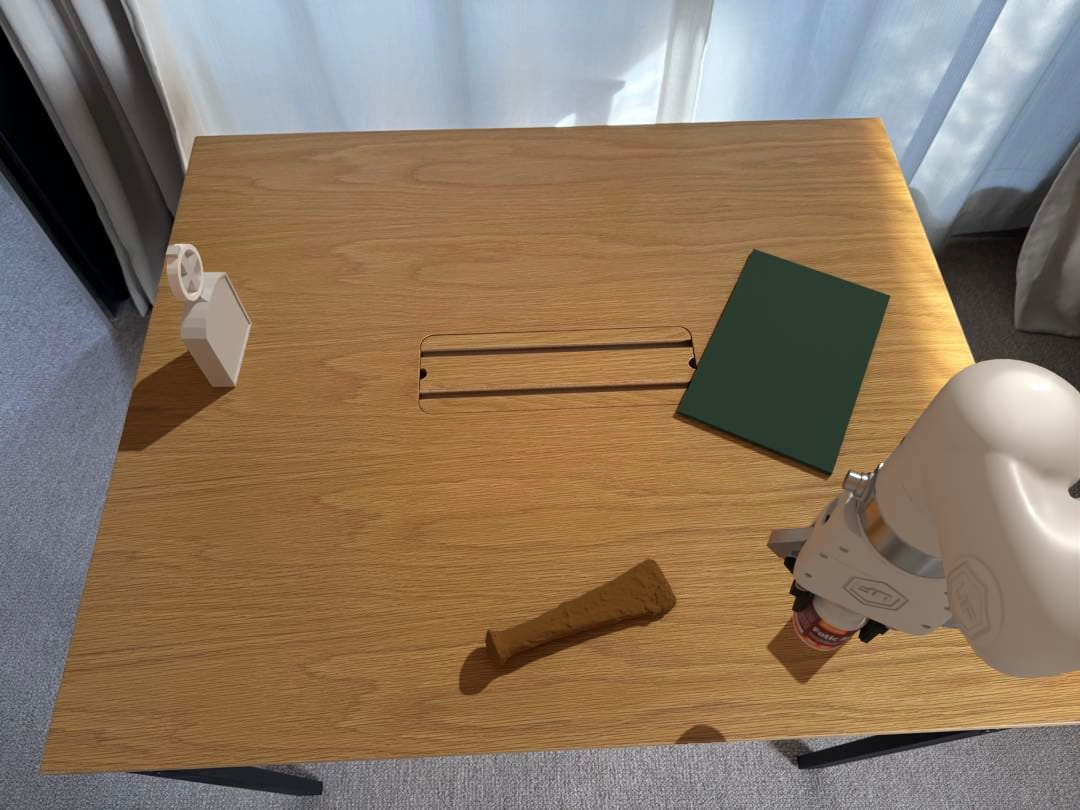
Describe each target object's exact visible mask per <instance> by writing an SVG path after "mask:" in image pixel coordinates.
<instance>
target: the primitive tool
mask: <svg viewBox="0 0 1080 810" xmlns="http://www.w3.org/2000/svg"><path fill="white" fill-rule="evenodd" d="M676 604H677V597H676V595H675V594H674V591H673V589H672V587H671V584H670V583H669V581H668V580H667V578H666V576H665V574H664V573H663V571H662V569H661V567H660V566H659V563H657V562H656V560H655V559H653V558H651V559H650V558H648V559H646V560H644V561H642V562H639V563H637V565H635V566H633V567H631V568H630V569H628V570H627V571H624V572H623V573H622V574H620V575H619V576H617V577H615V578H614V579H611V580H609V581H608V582H607V583H604V584H602V585H600V586H598V587H595V588H593V589H591V590H588V591H587V592H585V593H583V594H581V595H580V596H578V597H576V598H572V599H571V600H564V601H563V602H561V603H560V604H559V605H558V606H557V607H555V608H554V609H553V608H552V609H551V610H548V611H545V612H544V613H542V614H540V615H539V616H537V617H535V618H532V619H529V620H527V621H525V622H522V623H520V624H516V625H515V626H512V627H508V628H505V629H503V630H491V629H488V630H487V631H486V633H485V639H484V643H485V648H484V649H485V652H486V653H487V655H488V657H489V659H490V662H491V663H492V664H493V665H495V666H497V667H499V668H503V666H504V665H505V663H506V662H507V661H508V659H509V658H510V657H511V656H514V655H517V654H519V653H521V652H523V651H527V650H530V649H534V647H537V646H540V645H543V644H546V643H549V642H551V641H555V640H558V639H561V638H565V637H569V636H571V635H574V634H578V633H580V632H584V631H588V630H591V629H596V628H599V627H607V626H609V625H616V624H617V623H618V622H623V621H626V620H629V619H634V618H639V617H642V616H644V617H645V616H648V615H650V616H651V617H656V616H657V615H658V614H661V613H667V612H669V611H670V609H672V608H674V607H675V606H676Z"/></svg>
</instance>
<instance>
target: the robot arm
mask: <svg viewBox="0 0 1080 810" xmlns="http://www.w3.org/2000/svg"><path fill="white" fill-rule="evenodd" d="M1078 481H1080V392H1079V390H1078V389H1076V387H1074V385H1072V384H1071V383H1069V381H1067V380H1065V378H1063V377H1061V376H1059V374H1056V373H1055V372H1053V371H1051V370H1049V369H1048V368H1045V367H1043V366H1040V365H1037V364H1035V363H1032V362H1029V361H1024V360H1018V359H1013V358H1012V359H1011V358H995V359H988V360H982V361H978V362H976V363H974V364H971V365H968V366H966V367H964V368H963V369H961V370H960V371H958V372H956V373H954V375H952V376H951V378H949V379H948V381H947V382H946V383H945V384H944V385H943V386H942V388H940V389H939V391H938V392H937V394H936V395H935V396H934V397H933V398H932V400H931V401H930V402H929V404H928V405H927V407H926V408H925V409H924V410H923V412H922V413H921V414H920V415H919V417H918V418H917V420H916V421H915V422H914V423H913V425H912V426H911V427H910V428H909V430H908V431H907V432H906V434H905V435H904V436H903V438H902V439H901V440H900V441H899V443H898V444H897V445H896V447H895V448H894V449H893V451H892V452H891V453H890V455H889V456H888V457H887V458H886V460H885V461H884V462H879V463H878V464H877V466H876V467H875V469H873V471H867V473H866V472H863V471H861V472H858V471H855V470H853V469H848V470H847V472H846V474H845V476H844V479H843V480H842V484H841V489H842V491H841V492H839V493H838V494H836V496H835V497H834V498H833V499H831V500H830V501H829V502H828V503H827V504H826V505H825V506H824V507H823V508H822V509H821V510H820V512H818V514H816V516H815V517H814V518H813V519H812V521H811V523H810V524H809V525H808V526H806V527H805V526H804V527H793V528H784V529H773V530H771V532H770V535H769V537H768V541H767V543H766V547H767V548H768V549H769V550H770V551H772V553H774V554H775V555H776V556H777V557H778V558H779V559H782V560H783V566H784V567H785V568H786V569H787V570H788V571H789V572H790V573H791V575H792V577H793V580H792V583H791V586H790V589H789V591H788V592H789V593H788V594H789V595H790V596H793V597H795V598H794V601H793V604H792V608H791V611H792V612H794V611H795V612H797V613H798V612H802V611H803V610H804V609H805V607H806V606H807V605H808V604H809V603H810V602H811V601H812V600H813V598H814V596H815V594H816V595H818V596H821V597H823V598H825V599H827V600H829V601H832V602H834V603H836V604H838V605H841V606H843V607H845V608H847V609H850V610H852V611H854V612H856V613H859V614H861V615H863V616H866V617H868V618H870V620H869V621H868V623H867V624H866V625H865V626H864V627H862V628H861V629H860V630H859V631H858V637H857V638H858V639H859V641H860V642H862V643H865V644H868V643H870V642H871V641H872V640H874V639H875V638H876V637H878V635H881V636H883V635H885V634H886V633H887V632H888V631H890V630H891V631H894V632H895V631H896V632H902V633H905V634H907V635H912V636H917V637H920V636H921V637H922V636H927V635H930V634H932V633H933V632H935V631H937V630H938V629H940V628H948V629H955V630H959V631H960V633H961V635H963V637H964V639H965V640H966V642H967V644H968V645H969V647H970V648H971V650H972V651H973V653H975V655H976V656H977V657H978V658H979V659H980V660H981V661H983V662H984V664H985V665H987V666H989V667H990V668H992V669H993V670H995V671H997V672H999V673H1001V674H1003V675H1006V676H1010V677H1013V678H1019V679H1038V678H1048V677H1054V676H1060V675H1063V674H1068V673H1074V672H1078V671H1080V497H1073V496H1071V494H1070V492H1069V489H1071V488H1072V487H1074V486H1075V484H1076V483H1078Z"/></svg>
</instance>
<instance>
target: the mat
mask: <svg viewBox="0 0 1080 810" xmlns="http://www.w3.org/2000/svg"><path fill="white" fill-rule="evenodd" d="M890 299H891V295H890V294H886V293H884V292H882V291H878V290H875V289H872V288H869V287H867V286H865V285H861V284H858V283H855V282H853V281H849V280H846V279H844V278H841V277H837V276H835V275H833V274H829V273H826V272H823V271H820V270H817V269H814V268H811V267H809V266H805V265H803V264H799V263H796V262H793V261H791V260H788V259H786V258H782V257H780V256H776V255H773V254H770V253H768V252H764V251H762V250H759V249H756V248H753V249H752V251H751V254H750V255H749V257H748V260H747V262H746V264H745V266H744V268H743V271H742V273H741V274H740V277H739V279H738V281H737V283H736V285H735V288H734V289H733V292H732V293H731V296H730V298H729V301H728V302H727V304H726V306H725V308H724V311H723V312H722V315H721V317H720V319H719V322H718V323H717V326H716V328H715V330H714V332H713V334H712V336H711V338H710V341H709V343H708V345H707V347H706V349H705V351H704V354H703V355H702V358H701V360H700V361H699V364H698V366H697V369H696V370H695V372H694V375H693V377H692V379H691V381H690V383H689V385H688V387H687V390H686V392H685V394H684V396H683V398H682V401H681V402H680V405H679V406H678V409H677V411H676V414H678V415H679V416H682V417H684V418H687V419H690V420H691V421H694V422H698V423H699V424H702V425H705V426H707V427H709V428H712V429H714V430H716V431H719V432H722V433H724V434H726V435H730V436H732V437H734V438H737V439H739V440H742V441H744V442H746V443H749V444H752V445H754V446H756V447H759V448H761V449H764V450H767V451H768V452H771V453H773V454H776V455H779V456H780V457H783V458H786V459H788V460H791V461H793V462H795V463H798V464H800V465H804V466H806V467H808V468H810V469H813V470H815V471H818V472H821V473H823V474H825V475H827V476H832V474H833V473H834V470H835V467H836V464H837V461H838V458H839V455H840V451H841V448H842V446H843V442H844V439H845V436H846V433H847V429H848V427H849V424H850V421H851V417H852V414H853V412H854V409H855V406H856V402H857V399H858V396H859V394H860V390H861V388H862V385H863V381H864V379H865V375H866V373H867V369H868V366H869V362H870V360H871V357H872V354H873V351H874V348H875V344H876V341H877V338H878V336H879V332H880V329H881V326H882V323H883V320H884V317H885V314H886V312H887V308H888V305H889V302H890Z"/></svg>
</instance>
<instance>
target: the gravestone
mask: <svg viewBox="0 0 1080 810" xmlns="http://www.w3.org/2000/svg"><path fill="white" fill-rule="evenodd" d="M165 256H166V258H167V259H166V277H167V278H166V279H167V282H168V286H169V290H170V292H171V293H172V295H173V296H174V298H175V299H177V300H179V301H180V302H181V301H183V305H182V309H181V314H180V315H181V316H180V340H181V341H182V343H183V345H184V346H185V347H186V349H187V350H188V352H189V353H190V355H191V356H192V358H193V360H194V361H195V363H196V364H197V365H198V368H199V369H200V371H201V372H202V373H203V375H204V376H205V378H206V379H207V381H208V382H209V384H210V385H211V387H213V388H236V387H237V384H238V380H239V377H240V376H239V375H240V372H241V368H242V364H243V362H244V361H243V360H244V356H245V352H246V348H247V345H248V341H249V336H250V333H251V329H252V325H253V322H252V320H251V319H250V317H249V315H248V313H247V310H246V309H245V307H244V304H243V303H242V301H241V299H240V297H239V295H238V293H237V291H236V289H235V287H234V285H233V283H232V281H231V279H230V277H229V276H228V273H227V272H226V271H204V266H203V261H202V258H201V255H200V253H199V251H198V249H197V248H196V246H195V245H193V244H191V243H175V244H172V245H170V244H169V245H168V246H167V249H166V252H165Z"/></svg>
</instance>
